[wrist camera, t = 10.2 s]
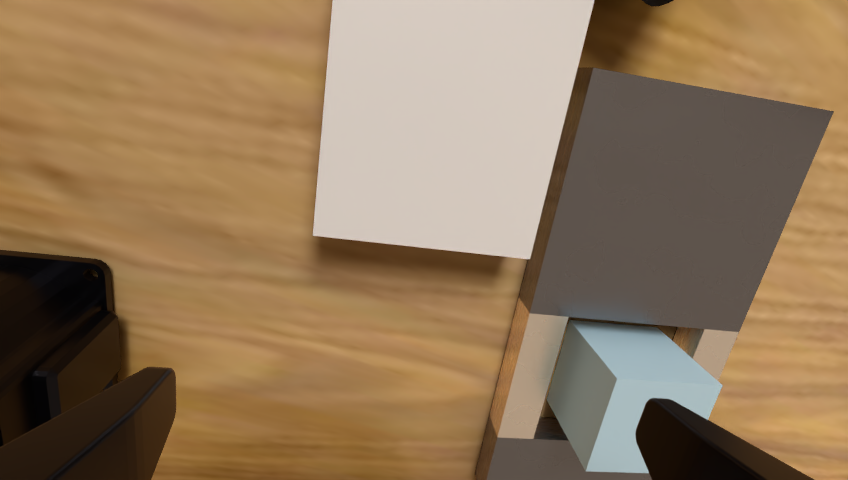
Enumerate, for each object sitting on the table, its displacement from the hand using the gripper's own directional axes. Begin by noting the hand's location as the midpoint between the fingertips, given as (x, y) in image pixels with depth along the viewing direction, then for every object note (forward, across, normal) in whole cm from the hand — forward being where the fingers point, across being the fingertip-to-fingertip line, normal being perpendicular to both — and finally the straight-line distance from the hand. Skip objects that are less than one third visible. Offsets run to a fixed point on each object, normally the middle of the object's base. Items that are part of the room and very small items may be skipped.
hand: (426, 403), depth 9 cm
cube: (+11, -11, +6) cm, 17 cm away
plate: (+11, -11, +3) cm, 16 cm away
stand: (+11, -1, -5) cm, 12 cm away
